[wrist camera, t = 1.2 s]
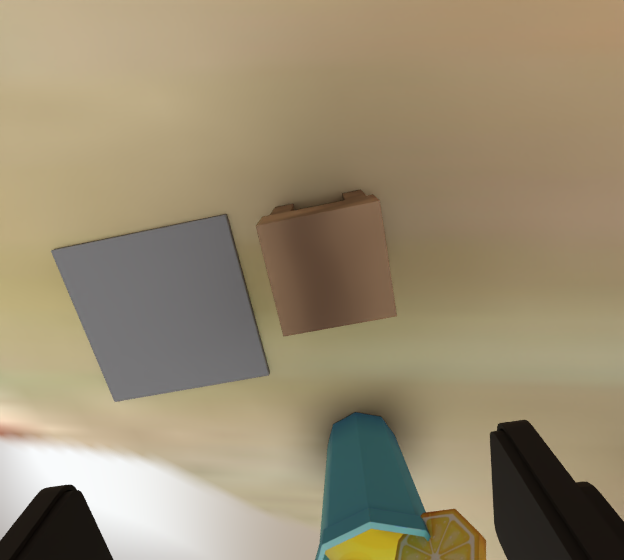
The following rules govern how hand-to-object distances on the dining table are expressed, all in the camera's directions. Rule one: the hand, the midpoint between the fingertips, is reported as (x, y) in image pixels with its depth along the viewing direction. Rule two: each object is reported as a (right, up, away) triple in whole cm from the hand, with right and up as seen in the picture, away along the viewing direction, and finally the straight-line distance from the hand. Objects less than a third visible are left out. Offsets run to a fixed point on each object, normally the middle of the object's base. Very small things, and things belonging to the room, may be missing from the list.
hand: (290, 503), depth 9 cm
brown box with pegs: (+1, +8, +18) cm, 19 cm away
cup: (+4, -8, +23) cm, 25 cm away
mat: (-10, +3, +19) cm, 22 cm away
